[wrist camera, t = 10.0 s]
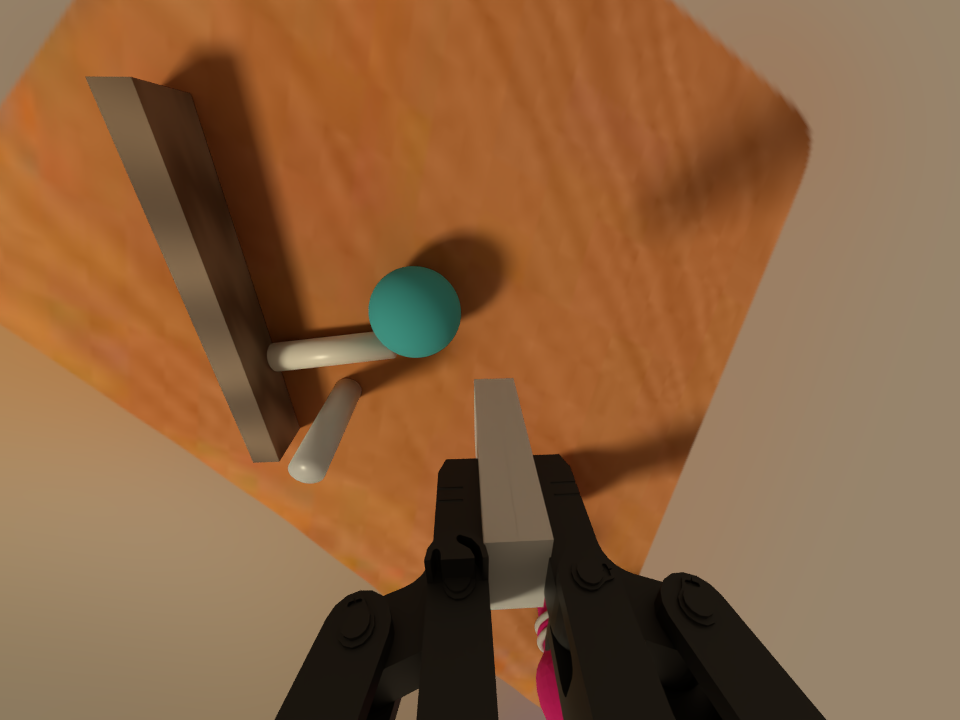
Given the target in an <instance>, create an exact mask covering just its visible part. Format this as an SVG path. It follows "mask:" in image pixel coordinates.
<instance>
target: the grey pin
mask: <svg viewBox="0 0 960 720" xmlns="http://www.w3.org/2000/svg"><path fill="white" fill-rule="evenodd" d="M361 393H362V389H361V386H360V385H359V384H358V383H357V382H356V381H354V380H352V379H348V378H345V379H341V380H339V381H338V382H337V383H336V384H335V386H334V388H333V389H332V391H331V393H330V395H329V396H328V398H327V400H326V402H325V403H324V405H323V407H322V408H321V410H320V412H319V414H318V415H317V417H316V419H315V420H314V422H313V424H312V426H311V427H310V429H309V431H308V433H307V434H306V436H305V438H304V439H303V441H302V443H301V445H300V446H299V448H298V450H297V451H296V453H295V455H294V457H293V458H292V460H291V462H290V464H289V466H288V471H289V473H290V475H291V476H292V477H293V478H295V479H296V480H298V481H300V482H303V483H316V482H319V481H321V480H322V479H323V478H324V477H325V475H326V472H327V470H328V468H329V465H330V463H331V461H332V459H333V456H334V454H335V452H336V450H337V447H338V445H339V443H340V441H341V438H342V436H343V434H344V432H345V429H346V427H347V425H348V422H349V420H350V418H351V416H352V413H353V411H354V409H355V407H356V404H357V402H358V400H359V398H360V395H361Z"/></svg>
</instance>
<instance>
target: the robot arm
mask: <svg viewBox="0 0 960 720" xmlns="http://www.w3.org/2000/svg"><path fill="white" fill-rule="evenodd" d="M474 413H475V448H476V458H474V459H447V460H445V462H444V464H443V466H442V467H441V469H440V471H439V472H438V484H437V498H436V512H435V525H434V539H433V542H432V543H431V545H430V546H429V547H428V549H427V552H426V556H425V559H424V564H425V571H424V573H423V574H422V575H421V576H420V577H419V578H418V579H417V580H416V581H414V582H413V583H411V584H410V585H408V586H406V587H404V588H401V589H399V590H397V591H394V592H392V593H389V594H387V595H385V596H382V595H381V594H378V593H376V592H374V591H358V592H355V593H353V594H350V595H348V596H346V597H345V598H344V599H343V600H341V601H340V602H339V603H338V604H337V605H335V607H334V608H333V609H332V611H331V612H330V614H329V616H328V617H327V618H326V620H325V622H324V624H323V626H322V628H321V630H320V632H319V634H318V636H317V638H316V640H315V641H314V643H313V645H312V647H311V649H310V651H309V653H308V655H307V657H306V659H305V661H304V663H303V665H302V667H301V669H300V671H299V673H298V675H297V677H296V679H295V681H294V683H293V685H292V687H291V689H290V691H289V693H288V695H287V697H286V698H285V700H284V702H283V704H282V706H281V708H280V710H279V712H278V714H277V716H276V718H275V720H395V718H396V715H397V711H398V708H399V704H400V701H401V698H402V697H403V696H405V695H407V694H409V693H411V692H413V691H415V690H417V689H419V696H418V709H417V720H498V708H497V694H496V679H495V664H494V650H493V636H492V622H491V610H498V609H516V608H533V607H543V604H544V598H545V602H546V607H547V612H548V617H549V619H548V625H547V631H546V636H545V651H550V650H551V655H552V661H553V666H554V672H555V677H556V682H557V688H558V693H559V699H560V704H561V710H562V715H563V720H826V719H825V718H824V716H823V715H822V714H821V713H820V712H819V711H818V709H817V708H816V707H815V706H814V705H813V703H812V702H811V701H810V700H809V699H808V698H807V696H806V695H805V694H804V693H803V692H802V690H801V689H800V688H799V687H798V685H797V684H796V683H795V682H794V681H793V680H792V678H791V677H790V676H789V675H788V674H787V672H786V671H785V670H784V669H783V668H782V666H781V665H780V664H779V663H778V662H777V661H776V659H775V658H774V657H773V656H772V655H771V653H770V652H769V651H768V650H767V649H766V647H765V646H764V645H763V644H762V643H761V641H760V640H759V639H758V638H757V637H756V635H755V634H754V633H753V632H752V631H751V630H750V629H749V627H748V626H747V625H746V624H745V622H744V621H743V620H742V619H741V618H740V616H739V615H738V614H737V613H736V612H735V610H734V609H733V608H732V607H731V606H730V605H729V603H728V602H727V601H726V600H725V599H724V597H723V596H722V595H721V594H720V593H719V592H718V591H717V590H716V589H715V588H714V587H712V586H711V585H710V584H709V583H707V582H706V581H704V580H702V579H701V578H699V577H697V576H694V575H691V574H687V573H684V572H681V573H672V574H670V575H669V576H668V577H666V578H665V579H664V580H663V582H661V581H657V580H654V579H650V578H646V577H643V576H639V575H636V574H633V573H630V572H628V571H625V570H623V569H622V568H620V567H618V566H617V565H615V564H614V563H613V562H612V561H611V560H610V559H609V558H607V556H606V555H605V554H604V552H603V551H602V550H601V548H600V546H599V544H598V542H597V539H596V536H595V533H594V531H593V528H592V525H591V523H590V520H589V517H588V514H587V512H586V509H585V506H584V503H583V501H582V498H581V496H580V493H579V490H578V487H577V484H575V479H574V476H573V473H572V471H571V468H570V466H569V465H568V464H567V463H566V462H565V460H564V459H563V458H562V457H561V456H560V455H559V454H553V455H532V451H531V447H530V443H529V439H528V435H527V431H526V427H525V423H524V419H523V415H522V411H521V407H520V403H519V399H518V395H517V391H516V387H515V383H514V379H513V378H506V379H474Z"/></svg>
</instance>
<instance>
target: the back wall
mask: <svg viewBox="0 0 960 720" xmlns="http://www.w3.org/2000/svg"><path fill="white" fill-rule="evenodd" d="M86 80H87V82H88V84H89V86H90V89H91V91H92V93H93V96H94V98H95V100H96V102H97V105H98V107H99V109H100V112H101V114H102V116H103V119H104V121H105V123H106V125H107V128H108V130H109V132H110V135H111V137H112V139H113V141H114V144H115V146H116V148H117V151H118V153H119V155H120V158H121V160H122V162H123V164H124V167H125V169H126V171H127V174H128V176H129V178H130V180H131V183H132V185H133V187H134V190H135V192H136V194H137V197H138V199H139V201H140V203H141V206H142V208H143V210H144V213H145V215H146V217H147V219H148V222H149V224H150V226H151V229H152V231H153V233H154V235H155V238H156V240H157V242H158V245H159V247H160V249H161V252H162V254H163V256H164V258H165V261H166V263H167V265H168V268H169V270H170V272H171V274H172V277H173V279H174V281H175V284H176V286H177V288H178V291H179V293H180V295H181V297H182V300H183V302H184V304H185V307H186V309H187V311H188V313H189V316H190V318H191V320H192V323H193V325H194V327H195V330H196V332H197V334H198V336H199V339H200V341H201V343H202V346H203V348H204V350H205V352H206V355H207V357H208V359H209V362H210V364H211V366H212V369H213V371H214V373H215V375H216V378H217V380H218V382H219V385H220V387H221V389H222V391H223V394H224V396H225V398H226V401H227V403H228V405H229V407H230V410H231V412H232V414H233V417H234V419H235V421H236V424H237V426H238V428H239V430H240V433H241V435H242V437H243V440H244V442H245V444H246V446H247V449H248V451H249V453H250V456H251V458H252V460H253V463H254V462H279V461H280V460H281V458H282V457H283V455H284V453H285V452H286V450H287V448H288V447H289V445H290V444H291V442H292V440H293V439H294V437H295V435H296V434H297V432H298V431H299V429H300V427H299V424H298V421H297V418H296V415H295V412H294V409H293V406H292V403H291V400H290V397H289V394H288V391H287V388H286V385H285V381H284V378H283V375H282V372H281V371H279V372H276V371H274V370H273V369H272V368H271V367H270V365H269V363H268V360H267V350H268V347H269V345H270V344H272V342H271V339H270V336H269V332H268V329H267V326H266V323H265V320H264V317H263V314H262V311H261V308H260V305H259V302H258V299H257V296H256V293H255V290H254V287H253V284H252V280H251V277H250V274H249V271H248V268H247V265H246V262H245V259H244V256H243V253H242V250H241V247H240V244H239V241H238V238H237V235H236V231H235V228H234V225H233V222H232V219H231V216H230V213H229V210H228V207H227V204H226V201H225V198H224V195H223V192H222V189H221V186H220V182H219V179H218V176H217V173H216V170H215V167H214V164H213V161H212V158H211V155H210V152H209V149H208V146H207V143H206V140H205V137H204V133H203V130H202V127H201V124H200V121H199V118H198V115H197V112H196V109H195V106H194V103H193V100H192V97H191V94H190V93H187V92H183V91H180V90H176V89H173V88H169V87H165V86H162V85H158V84H155V83H151V82H147V81H144V80H140V79H137V78H133V77H86Z"/></svg>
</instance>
